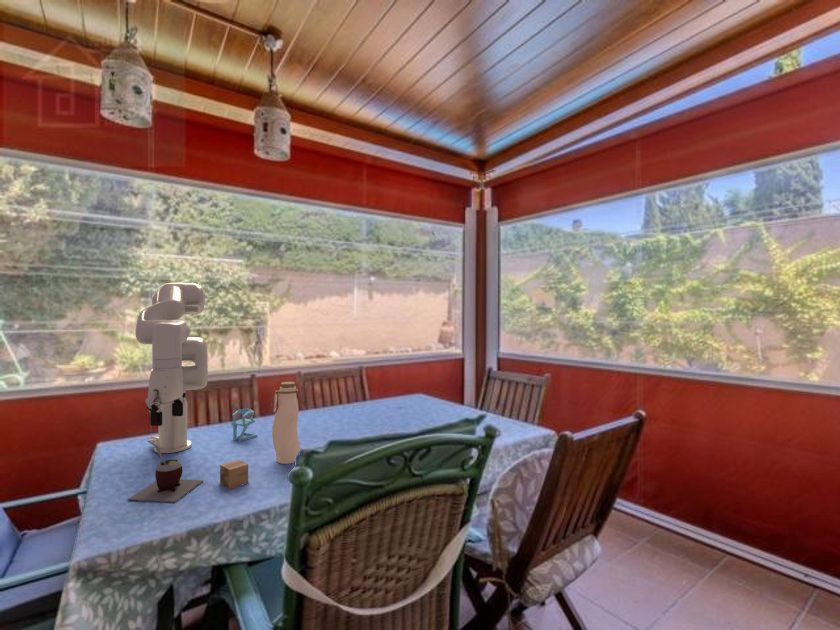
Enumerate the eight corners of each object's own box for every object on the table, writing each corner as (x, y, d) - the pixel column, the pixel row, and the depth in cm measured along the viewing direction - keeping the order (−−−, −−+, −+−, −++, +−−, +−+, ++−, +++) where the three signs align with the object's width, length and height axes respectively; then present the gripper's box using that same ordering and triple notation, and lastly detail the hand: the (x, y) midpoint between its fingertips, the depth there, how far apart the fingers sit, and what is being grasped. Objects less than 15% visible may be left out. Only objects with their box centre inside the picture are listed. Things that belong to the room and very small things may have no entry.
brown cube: (219, 483, 133) (219, 464, 133) (238, 477, 138) (238, 459, 137) (229, 489, 129) (229, 469, 129) (248, 483, 134) (248, 464, 133)
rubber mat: (127, 500, 120) (127, 499, 120) (160, 480, 134) (160, 478, 134) (175, 502, 120) (175, 501, 120) (203, 481, 134) (203, 480, 134)
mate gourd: (187, 487, 128) (187, 438, 128) (159, 497, 122) (159, 445, 121) (174, 481, 132) (174, 433, 132) (146, 490, 126) (146, 440, 125)
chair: (228, 440, 173) (228, 411, 173) (242, 434, 181) (242, 406, 181) (243, 442, 171) (243, 413, 170) (257, 436, 179) (257, 408, 178)
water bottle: (272, 467, 146) (273, 386, 145) (268, 458, 154) (269, 381, 153) (302, 462, 151) (303, 384, 150) (297, 454, 159) (298, 380, 158)
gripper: (173, 358, 135) (173, 412, 135) (134, 368, 117) (134, 429, 118) (196, 359, 134) (196, 413, 135) (160, 369, 117) (160, 430, 118)
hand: (167, 420), depth 127 cm, fingers open, 9 cm apart
